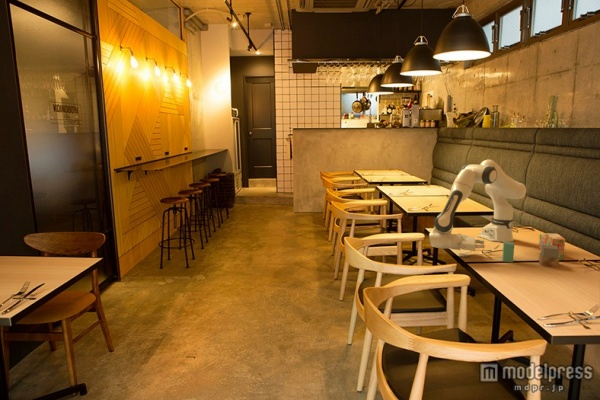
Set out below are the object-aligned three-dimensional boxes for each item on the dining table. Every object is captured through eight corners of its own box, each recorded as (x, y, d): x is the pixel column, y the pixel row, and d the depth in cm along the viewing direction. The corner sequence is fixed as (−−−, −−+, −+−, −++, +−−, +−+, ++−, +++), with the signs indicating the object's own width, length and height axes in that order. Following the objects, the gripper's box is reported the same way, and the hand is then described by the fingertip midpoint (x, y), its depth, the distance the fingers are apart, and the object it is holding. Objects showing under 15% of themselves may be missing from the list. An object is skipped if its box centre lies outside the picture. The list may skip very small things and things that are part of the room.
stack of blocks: (538, 249, 255) (540, 229, 253) (549, 249, 253) (551, 229, 251) (550, 259, 234) (552, 238, 232) (563, 260, 233) (565, 238, 231)
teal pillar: (502, 261, 231) (504, 243, 230) (502, 258, 236) (503, 241, 234) (513, 262, 229) (514, 244, 228) (512, 259, 234) (513, 242, 232)
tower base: (541, 266, 223) (541, 257, 223) (538, 261, 231) (539, 253, 230) (558, 267, 220) (559, 258, 220) (555, 263, 228) (556, 254, 227)
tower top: (543, 257, 223) (543, 247, 222) (540, 253, 229) (541, 244, 228) (558, 258, 220) (559, 249, 219) (555, 254, 227) (556, 245, 226)
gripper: (457, 241, 231) (485, 243, 225) (458, 232, 249) (484, 235, 244) (457, 252, 232) (484, 254, 226) (458, 243, 250) (483, 245, 245)
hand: (484, 244), depth 235 cm, fingers open, 8 cm apart
